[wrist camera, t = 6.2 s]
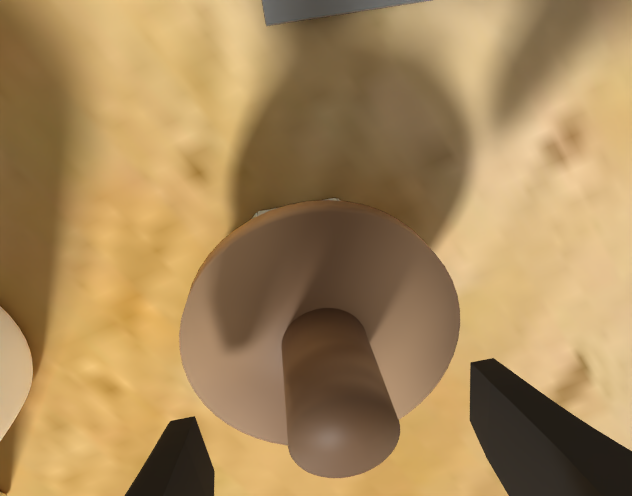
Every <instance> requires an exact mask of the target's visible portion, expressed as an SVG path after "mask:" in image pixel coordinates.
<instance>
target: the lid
mask: <svg viewBox="0 0 632 496" xmlns="http://www.w3.org/2000/svg"><path fill="white" fill-rule="evenodd" d="M459 329H460V308H459V302H458V296H457V293H456V290H455V287H454V284H453V281H452V279H451V277H450V275H449V273H448V272H447V270H446V268H445V266H444V265H443V264H442V262H441V261H440V260H439V258H438V257H437V256H436V254H435V253H434V252H433V251H432V250H431V249H430V247H429V246H428V245H427V244H426V243H425V242H424V241H423V239H422V238H421V237H419V236H418V235H417V234H416V233H415V232H414V231H413V230H412V229H411V228H410V227H408V226H407V225H405V224H404V223H403V222H401V221H400V220H398V219H397V218H395V217H393V216H391V215H389V214H387V213H385V212H383V211H381V210H378V209H375V208H372V207H369V206H366V205H362V204H357V203H352V202H347V201H334V200H319V201H306V202H300V203H295V204H290V205H286V206H283V207H280V208H277V209H273V210H270V211H268V212H266V213H264V214H261V215H259V216H257V217H255V218H253V219H251V220H249V221H248V222H246V223H245V224H243V225H241V226H240V227H238V228H237V229H235V230H234V231H233V232H232V233H230V234H229V235H228V236H227V237H226V238H224V239H223V240H222V241H221V242H220V243H219V244H218V245H217V246H216V247H215V249H214V250H213V251H212V252H211V253H210V254H209V255H208V257H207V258H206V260H205V261H204V263H203V264H202V266H201V267H200V269H199V270H198V273H197V275H196V277H195V279H194V281H193V283H192V285H191V289H190V292H189V295H188V299H187V302H186V305H185V308H184V312H183V315H182V318H181V326H180V333H179V340H180V354H181V359H182V364H183V367H184V370H185V373H186V376H187V378H188V381H189V382H190V384H191V386H192V388H193V389H194V391H195V393H196V394H197V396H198V397H199V398H200V399H201V401H202V402H203V403H204V405H205V406H206V407H207V408H208V409H210V410H211V411H212V412H213V413H214V414H215V415H216V416H217V417H218V418H220V419H221V420H223V421H224V422H225V423H227V424H228V425H230V426H232V427H233V428H235V429H237V430H239V431H240V432H243V433H245V434H247V435H250V436H252V437H255V438H258V439H261V440H264V441H268V442H271V443H277V444H283V445H288V449H289V452H290V455H291V457H292V459H293V460H294V461H295V463H296V464H297V465H298V466H299V467H301V468H302V469H303V470H305V471H307V472H309V473H311V474H314V475H317V476H321V477H327V478H344V477H350V476H355V475H358V474H361V473H364V472H366V471H369V470H371V469H372V468H374V467H376V466H377V465H379V464H380V463H382V462H383V461H384V460H385V459H386V458H387V457H388V456H389V455H390V454H391V453H392V451H393V450H394V448H395V447H396V445H397V442H398V440H399V436H400V424H399V419H401V418H402V417H404V416H405V415H407V414H408V413H409V412H410V411H412V410H413V409H414V408H415V407H416V406H418V405H419V404H420V403H421V402H422V401H423V400H424V399H425V398H426V397H427V396H428V395H429V394H430V393H431V392H432V390H433V389H434V388H435V386H436V385H437V384H438V383H439V381H440V380H441V378H442V376H443V375H444V373H445V371H446V370H447V368H448V366H449V364H450V362H451V359H452V357H453V355H454V352H455V348H456V345H457V341H458V336H459Z"/></svg>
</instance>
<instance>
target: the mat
mask: <svg viewBox="0 0 632 496" xmlns="http://www.w3.org/2000/svg"><path fill="white" fill-rule="evenodd" d="M424 1H431V0H262V4H263V10H264V16H265V22H266V26H270V25H277V24H283V23H290V22H296V21H302V20H309V19H315V18H322V17H328V16H334V15H341V14H347V13H354V12H360V11H367V10H373V9H379V8H386V7H392V6H399V5H405V4H412V3H418V2H424Z"/></svg>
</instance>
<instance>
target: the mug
mask: <svg viewBox="0 0 632 496" xmlns="http://www.w3.org/2000/svg"><path fill="white" fill-rule="evenodd" d="M32 377H33V365H32V357H31V352H30V348H29V346H28V343H27V341H26V339H25V337H24V335H23V333H22V332H21V330H20V328H19V327H18V325H17V324H16V323H15V322H14V320H13V319H12V318H11V316H10V315H9V314H8V313H7V312H6V311H5V310H4V309H3V308H2V307H1V306H0V441H1V440H2V438H3V437H4V435H5V434H6V432H7V431H8V429H9V428H10V426H11V425H12V423H13V422H14V420H15V419H16V417H17V415H18V413H19V412H20V410H21V408H22V406H23V404H24V403H25V401H26V398H27V396H28V394H29V391H30V387H31V384H32Z"/></svg>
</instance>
